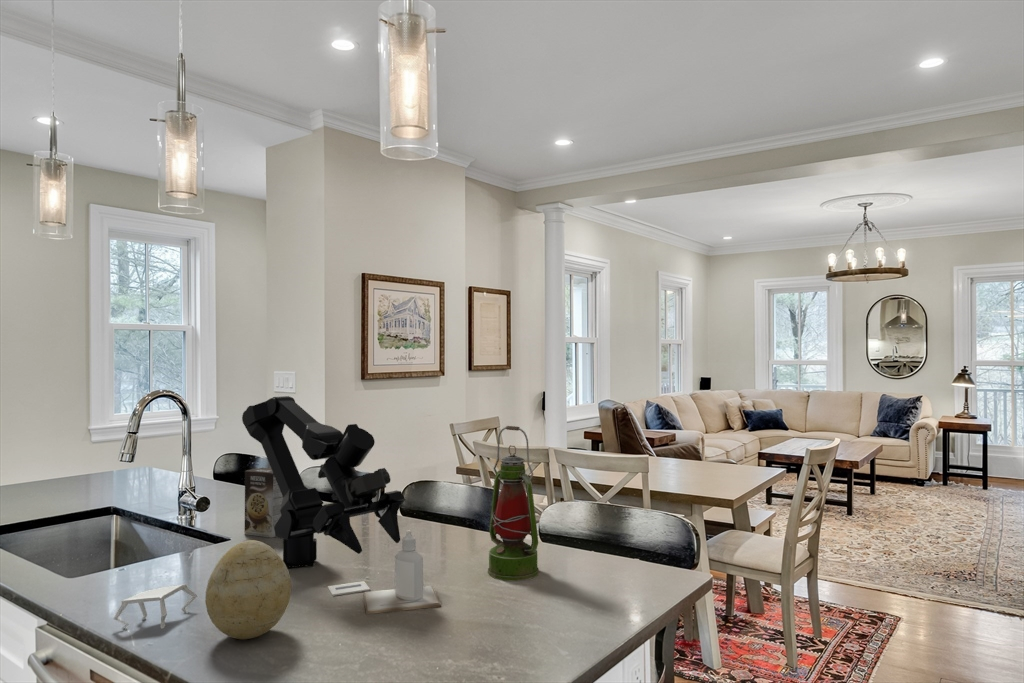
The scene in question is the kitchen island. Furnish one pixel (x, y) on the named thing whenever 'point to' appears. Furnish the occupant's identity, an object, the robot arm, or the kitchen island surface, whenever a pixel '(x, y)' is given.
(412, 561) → the eye dropper bottle
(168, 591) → the white toy table
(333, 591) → the plate
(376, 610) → the notepad
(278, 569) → the fossilized egg
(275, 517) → the coffee box
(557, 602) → the kitchen island surface
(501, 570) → the lantern
